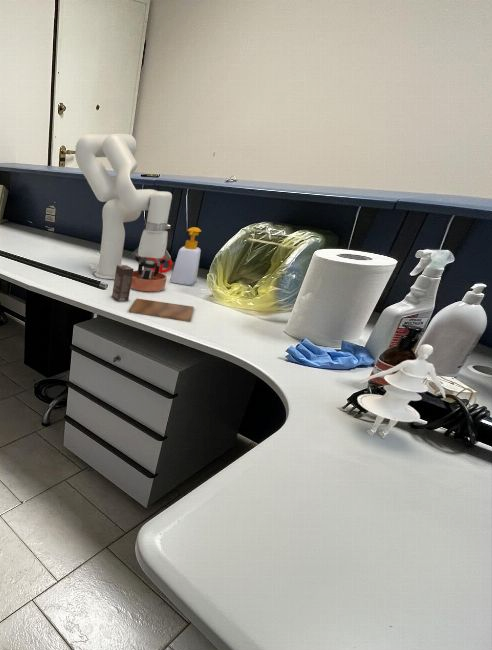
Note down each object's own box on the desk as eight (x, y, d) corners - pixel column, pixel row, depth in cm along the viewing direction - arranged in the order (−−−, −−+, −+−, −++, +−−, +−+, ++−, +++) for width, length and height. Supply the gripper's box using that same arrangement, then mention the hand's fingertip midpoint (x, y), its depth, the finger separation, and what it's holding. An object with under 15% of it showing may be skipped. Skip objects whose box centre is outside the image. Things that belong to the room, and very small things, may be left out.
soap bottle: (167, 285, 170) (178, 229, 158) (173, 277, 180) (184, 224, 169) (191, 289, 166) (204, 231, 154) (196, 280, 176) (209, 226, 165)
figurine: (406, 428, 84) (461, 339, 74) (425, 456, 76) (489, 360, 66) (331, 413, 88) (373, 327, 78) (342, 438, 80) (390, 346, 70)
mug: (168, 276, 182) (171, 258, 178) (142, 272, 187) (145, 254, 183) (173, 272, 187) (176, 255, 183) (147, 268, 193) (150, 251, 189)
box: (129, 301, 152) (134, 268, 146) (118, 301, 151) (122, 269, 145) (122, 296, 157) (126, 264, 151) (111, 296, 156) (115, 265, 150)
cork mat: (128, 312, 141) (129, 309, 141) (136, 300, 152) (137, 298, 152) (189, 321, 134) (190, 319, 134) (193, 308, 145) (193, 306, 145)
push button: (155, 285, 168) (161, 260, 162) (152, 288, 164) (159, 263, 158) (139, 281, 170) (145, 257, 165) (136, 284, 166) (142, 260, 161)
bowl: (123, 289, 164) (125, 277, 162) (131, 280, 176) (132, 268, 173) (161, 294, 159) (163, 282, 156) (166, 284, 170) (168, 272, 168)
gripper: (180, 227, 155) (170, 274, 164) (135, 223, 162) (128, 269, 171) (178, 230, 149) (168, 279, 159) (131, 226, 156) (124, 273, 165)
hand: (147, 273), depth 165 cm, fingers closed on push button, 5 cm apart
